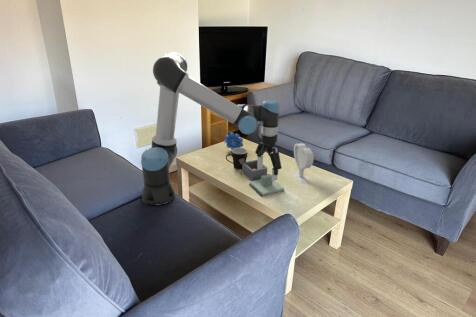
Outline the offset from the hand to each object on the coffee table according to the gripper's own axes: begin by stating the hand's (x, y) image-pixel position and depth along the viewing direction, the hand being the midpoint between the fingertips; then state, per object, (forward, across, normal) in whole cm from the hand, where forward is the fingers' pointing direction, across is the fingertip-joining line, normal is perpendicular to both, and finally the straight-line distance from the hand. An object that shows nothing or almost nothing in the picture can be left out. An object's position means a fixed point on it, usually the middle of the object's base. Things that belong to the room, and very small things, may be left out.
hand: (266, 174), depth 169 cm
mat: (+8, 0, 0) cm, 8 cm away
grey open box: (+8, +14, -1) cm, 16 cm away
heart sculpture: (+8, +1, -22) cm, 23 cm away
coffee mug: (+8, +27, +3) cm, 28 cm away
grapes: (+8, +47, -5) cm, 48 cm away
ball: (+5, +14, -1) cm, 15 cm away
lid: (+7, 0, 0) cm, 7 cm away
